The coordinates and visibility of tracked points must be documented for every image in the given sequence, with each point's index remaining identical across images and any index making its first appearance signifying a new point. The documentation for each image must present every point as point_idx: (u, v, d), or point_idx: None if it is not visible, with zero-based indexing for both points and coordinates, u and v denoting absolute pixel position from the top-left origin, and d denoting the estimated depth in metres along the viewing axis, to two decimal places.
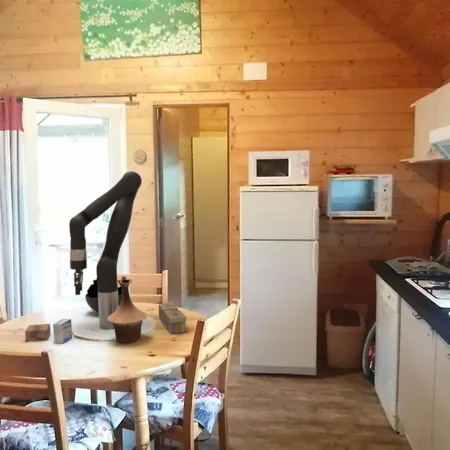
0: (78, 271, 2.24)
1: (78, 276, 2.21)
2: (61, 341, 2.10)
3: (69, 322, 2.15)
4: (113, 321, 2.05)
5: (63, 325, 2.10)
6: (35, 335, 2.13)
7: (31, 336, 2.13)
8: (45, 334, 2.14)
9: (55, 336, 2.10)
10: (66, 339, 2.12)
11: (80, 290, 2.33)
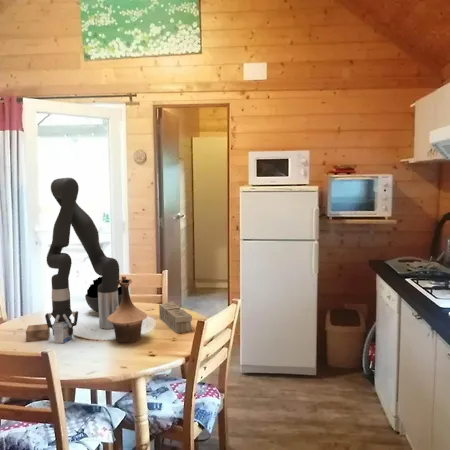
0: (70, 309, 2.14)
1: None
2: (61, 341, 2.10)
3: None
4: (113, 321, 2.05)
5: (63, 325, 2.10)
6: (35, 335, 2.13)
7: (31, 336, 2.13)
8: (46, 334, 2.15)
9: (55, 336, 2.10)
10: (66, 339, 2.12)
11: None
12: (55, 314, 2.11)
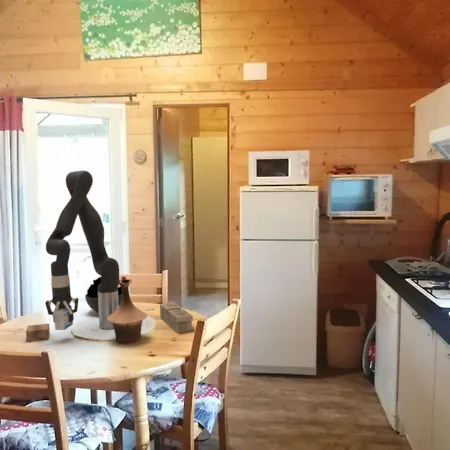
0: (70, 296, 2.13)
1: None
2: (62, 328, 2.09)
3: None
4: (113, 321, 2.05)
5: (64, 312, 2.10)
6: (36, 335, 2.13)
7: (32, 336, 2.13)
8: (46, 334, 2.15)
9: (56, 323, 2.10)
10: (67, 326, 2.12)
11: None
12: (55, 301, 2.11)
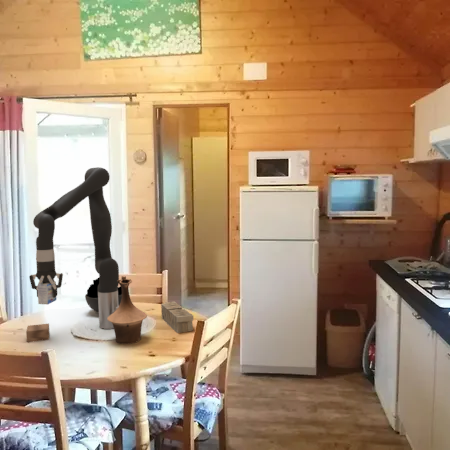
0: (55, 271, 2.14)
1: (62, 276, 2.15)
2: (45, 302, 2.10)
3: None
4: (113, 321, 2.05)
5: (48, 286, 2.10)
6: (36, 335, 2.14)
7: (32, 336, 2.13)
8: (46, 334, 2.15)
9: (39, 297, 2.10)
10: (50, 300, 2.13)
11: None
12: (39, 275, 2.11)
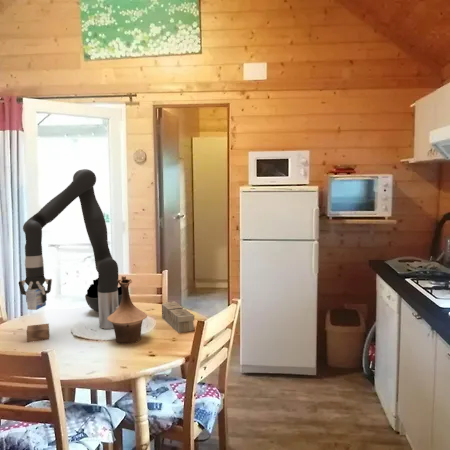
0: None
1: (51, 282, 2.18)
2: (34, 307, 2.13)
3: None
4: (113, 321, 2.05)
5: (36, 292, 2.13)
6: (36, 335, 2.14)
7: (32, 336, 2.13)
8: (47, 333, 2.15)
9: (28, 303, 2.13)
10: (39, 306, 2.15)
11: None
12: (28, 281, 2.14)
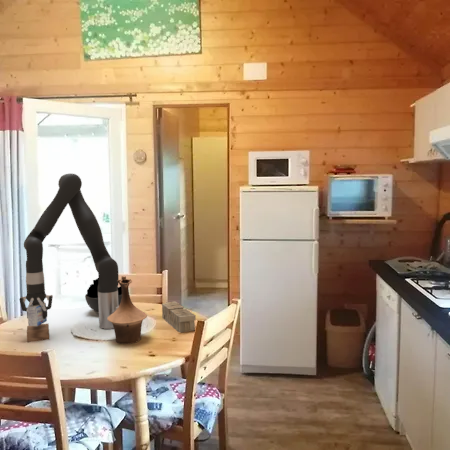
0: (44, 293, 2.17)
1: None
2: (35, 324, 2.13)
3: None
4: (113, 321, 2.05)
5: (37, 308, 2.14)
6: (36, 335, 2.14)
7: (32, 336, 2.13)
8: (47, 333, 2.15)
9: (29, 319, 2.14)
10: (40, 322, 2.16)
11: None
12: (29, 297, 2.15)
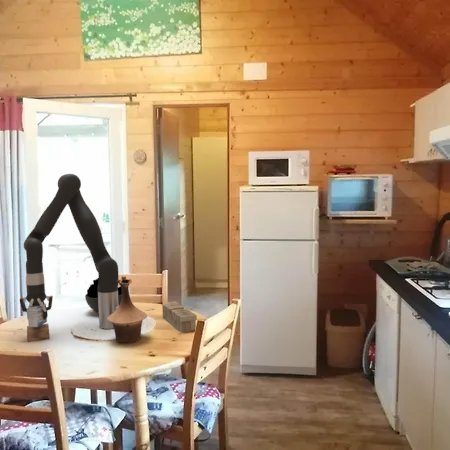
0: None
1: None
2: (35, 325, 2.13)
3: None
4: (113, 321, 2.05)
5: (37, 309, 2.14)
6: (37, 335, 2.14)
7: (32, 336, 2.13)
8: (47, 333, 2.15)
9: (30, 320, 2.14)
10: (40, 323, 2.16)
11: None
12: (29, 298, 2.15)
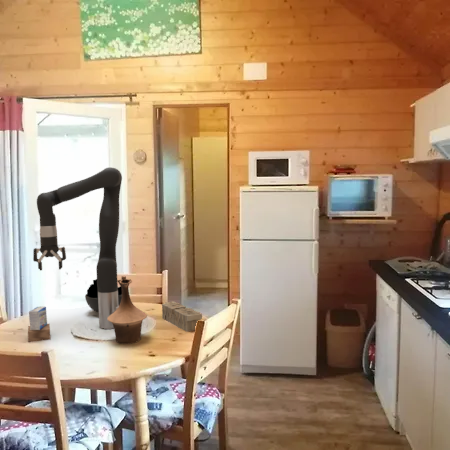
0: (57, 246, 2.29)
1: None
2: (37, 328, 2.14)
3: (44, 309, 2.19)
4: (113, 321, 2.05)
5: (39, 312, 2.14)
6: (37, 335, 2.14)
7: (33, 336, 2.13)
8: (48, 334, 2.15)
9: (31, 324, 2.14)
10: (42, 326, 2.16)
11: None
12: (43, 250, 2.27)
